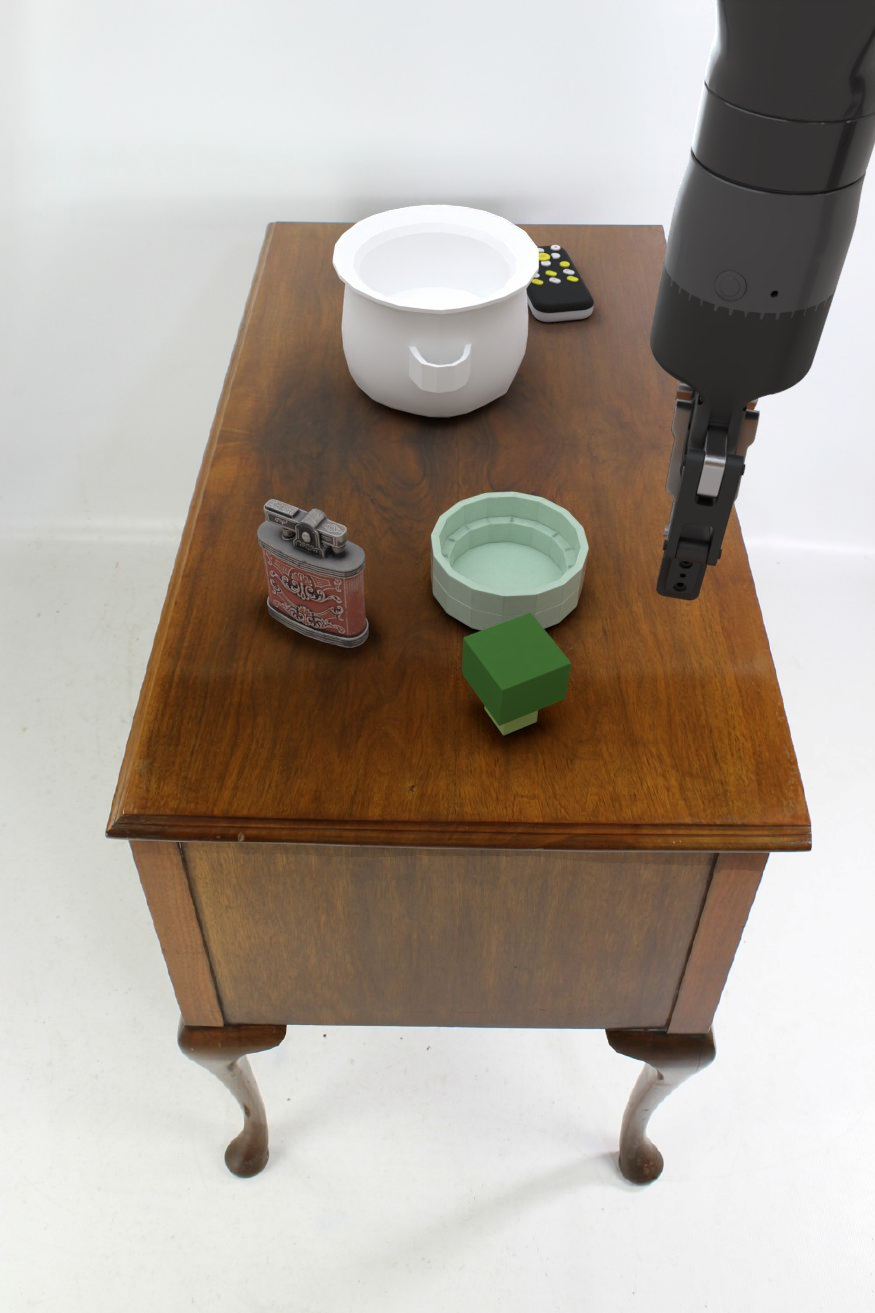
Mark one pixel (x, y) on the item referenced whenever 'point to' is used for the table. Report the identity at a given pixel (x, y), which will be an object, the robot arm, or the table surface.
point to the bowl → (507, 560)
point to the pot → (435, 306)
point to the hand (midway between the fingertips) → (682, 541)
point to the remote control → (558, 288)
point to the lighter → (313, 575)
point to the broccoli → (515, 671)
